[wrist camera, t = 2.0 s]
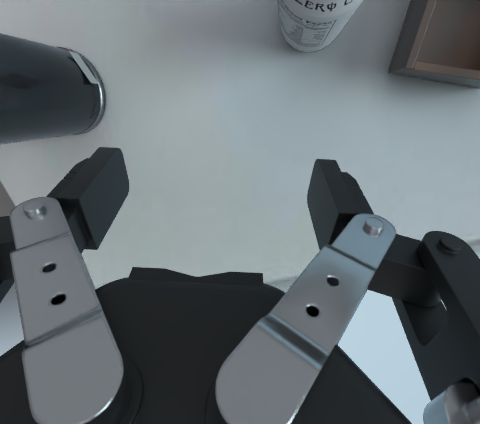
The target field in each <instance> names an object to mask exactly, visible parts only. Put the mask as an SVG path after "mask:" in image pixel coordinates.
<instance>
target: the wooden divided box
mask: <svg viewBox="0 0 480 424" xmlns="http://www.w3.org/2000/svg"><path fill="white" fill-rule="evenodd" d="M388 73H390V74H396V75H402V76H408V77H414V78H420V79H426V80H432V81H438V82H445V83H451V84H457V85H463V86H469V87H475V88H480V0H411V2H410V5H409V8H408V11H407V15H406V18H405V21H404V24H403V27H402V30H401V33H400V36H399V40H398V43H397V46H396V49H395V52H394V55H393V58H392V62H391V65H390V68H389V71H388Z"/></svg>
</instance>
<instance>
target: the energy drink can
mask: <svg viewBox="0 0 480 424" xmlns="http://www.w3.org/2000/svg"><path fill="white" fill-rule="evenodd" d="M362 1H363V0H278V10H279V20H280V27H281V31H282V34H283V36H284V38H285V39H286V41H287V42H288V43H289V44H290V45H291V46H292V47H294V48H295V49H297V50H300V51H303V52H314V51H318V50H321V49H323V48H325V47H326V46H327V45H329V44H330V43H331V42H332V41H333V40H334V39H335V38H336V37H337V35H338V34H339V33H340V31H341V30H342V28H343V27H344V26H345V24H346V23H347V22H348V20H349V19H350V18H351V16H352V15H353V14H354V12H355V11H356V9H357V8H358V7H359V5H360V4H361V3H362Z"/></svg>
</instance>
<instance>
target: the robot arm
mask: <svg viewBox="0 0 480 424" xmlns="http://www.w3.org/2000/svg"><path fill="white" fill-rule="evenodd" d="M105 101H106V99H105V90H104V86H103V83H102V80H101V78H100V76H99V74H98V72H97V71H96V69H95V68H94V66H93V65H92V64H91V63H90V62H89V61H88V60H87V59H86V58H85V57H84V56H82V55H81V54H79V53H77V52H75V51H73V50H70V49H67V48H62V47H54V46H50V45H46V44H42V43H38V42H34V41H30V40H26V39H21V38H17V37H13V36H9V35H5V34H1V33H0V144H7V143H14V142H21V141H28V140H35V139H42V138H49V137H56V136H64V135H77V134H83V133H86V132H88V131H90V130H92V129H93V128H95V127H96V126H97V125H98V123H99V122H100V120H101V118H102V116H103V114H104V110H105ZM128 192H129V180H128V175H127V171H126V167H125V162H124V158H123V154H122V151H121V149H120V148H107V147H99V148H98V149H97V150H96V152H95V153H94V154H93V155H92V156H91V157H90V158H87V159H85V160H83V161H81V162H79V163H78V164H76V165H75V166H74V167H73V168H72V169H71V170H70V171H69V173H68V174H67V175H66V176H65V177H64V179H62V180H61V181H60V182H59V183H58V185H57V186H56V187H55V188H54V189H53V190H52V191H51V192H50V193H49V194H48V195H47V197H39V198H34V199H30V200H27V201H25V202H23V203H21V204H19V205H17V206H16V207H15V208H14V209H13V210H12V211H11V213H10V216H4V217H0V303H1V301H2V299H3V298H4V297H5V295H6V293H7V292H8V291H9V289H10V288H11V286H12V285H13V284H14V282H15V287H16V293H17V299H18V305H19V311H20V316H21V323H22V328H23V334H24V340H23V341H21V342H20V343H19V344H17V345H16V346H14V347H13V348H11V349H10V350H9V351H7V352H6V353H4V354H3V355H2V356H0V424H412V423H411V422H410V421H409V420H408V419H407V418H406V417H405V416H404V415H403V414H402V413H401V411H400V410H399V409H398V408H397V407H396V406H395V405H394V404H393V403H392V402H391V401H390V400H389V399H388V398H387V397H386V396H385V395H384V393H383V392H382V391H380V389H379V388H378V387H377V386H376V385H375V384H374V383H373V382H372V381H371V380H370V379H369V378H368V377H367V376H366V375H365V373H364V372H363V371H362V370H361V369H360V368H359V367H358V366H357V365H356V364H355V363H354V362H353V361H352V360H351V359H350V358H349V357H348V356H347V354H346V353H345V352H344V351H343V350H342V349H341V348H340V347H339V346H338V343H339V341H340V339H341V337H342V335H343V333H344V332H345V330H346V328H347V326H348V324H349V322H350V320H351V319H352V317H353V315H354V313H355V311H356V310H357V308H358V306H359V304H360V302H361V300H362V298H363V297H364V295H365V293H366V291H367V289H368V290H371V291H374V292H377V293H380V294H384V295H387V296H390V297H392V299H393V302H394V305H395V307H396V310H397V313H398V315H399V318H400V320H401V323H402V326H403V328H404V331H405V334H406V336H407V339H408V342H409V344H410V347H411V349H412V352H413V355H414V357H415V360H416V363H417V365H418V368H419V371H420V373H421V376H422V378H423V381H424V384H425V386H426V389H427V391H428V394H429V397H430V400H431V402H430V403H428V404H427V406H426V407H425V409H424V414H423V421H424V424H480V259H479V258H478V256H477V255H476V254H475V252H474V251H473V250H472V248H471V247H470V246H469V245H468V244H467V243H466V242H464V241H463V240H462V239H460V238H458V237H456V236H454V235H452V234H449V233H446V232H441V231H431V232H428V233H426V234H425V236H424V237H423V239H422V241H420V240H416V239H412V238H409V237H405V236H401V235H398V234H396V230H395V228H394V226H393V225H392V224H391V223H390V222H389V221H387V220H386V219H384V218H382V217H380V216H378V215H374V213H373V211H372V209H371V207H370V206H369V204H368V202H367V200H366V198H365V196H364V195H363V192H362V191H361V189H360V187H359V185H358V183H357V181H356V179H354V178H353V177H352V176H351V175H349V174H348V173H347V172H341V170H340V168H339V166H338V164H337V162H336V160H326V159H317V160H316V161H315V164H314V168H313V172H312V176H311V180H310V185H309V189H308V195H307V203H308V208H309V211H310V215H311V219H312V223H313V227H314V230H315V234H316V238H317V242H318V246H319V249H320V251H319V253H318V254H317V255H316V256H315V258H314V259H313V260H312V261H311V262H310V264H309V265H308V266H307V267H306V269H305V270H304V271H303V272H302V274H301V275H300V276H299V277H298V278H297V280H296V281H295V282H294V283H293V285H292V286H291V287H290V288H289V290H288V291H287V292H286V293H285V292H283V291H281V290H279V289H278V288H276V287H273V286H270V285H268V284H264V283H263V273H245V272H227V273H221V274H214V275H208V276H202V277H194V276H190V275H186V274H183V273H179V272H175V271H172V270H168V269H161V268H140V267H133V268H132V271H131V273H130V276H129V277H128V278H123V279H119V280H116V281H113V282H110V283H108V284H106V285H103V286H101V287H99V288H98V289H95V286H94V284H93V282H92V279H91V277H90V274H89V272H88V269H87V267H86V265H85V262H84V260H83V257H82V255H81V254H82V252H83V250H84V249H93V250H97V249H98V248H99V246H100V244H101V242H102V240H103V239H104V237H105V235H106V233H107V231H108V229H109V228H110V226H111V224H112V222H113V220H114V219H115V217H116V215H117V213H118V211H119V210H120V208H121V206H122V204H123V202H124V200H125V199H126V197H127V195H128ZM441 299H442V301H443V303H444V305H445V307H446V309H445V307H444V305H443V303H442V302H441ZM446 310H447V311H446Z"/></svg>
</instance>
